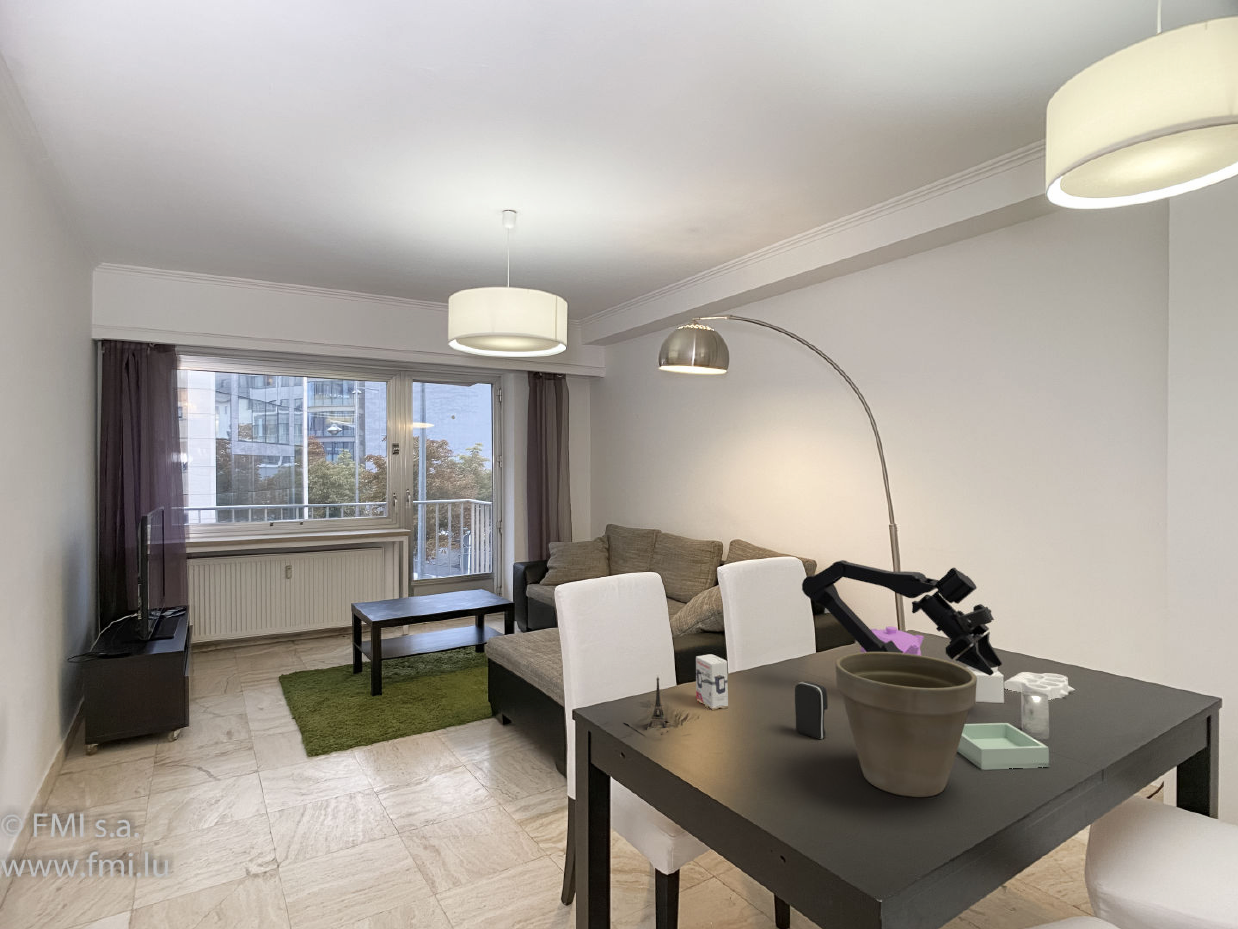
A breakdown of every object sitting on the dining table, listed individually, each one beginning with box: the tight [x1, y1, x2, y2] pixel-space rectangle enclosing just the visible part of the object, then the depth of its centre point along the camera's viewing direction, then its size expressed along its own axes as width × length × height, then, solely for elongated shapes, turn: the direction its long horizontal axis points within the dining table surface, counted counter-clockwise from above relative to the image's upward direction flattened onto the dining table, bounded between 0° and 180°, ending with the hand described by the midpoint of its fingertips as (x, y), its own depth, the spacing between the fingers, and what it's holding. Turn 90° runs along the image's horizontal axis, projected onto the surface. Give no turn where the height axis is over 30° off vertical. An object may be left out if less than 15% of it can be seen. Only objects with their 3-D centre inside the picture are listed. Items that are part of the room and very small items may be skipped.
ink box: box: [695, 654, 729, 708], centre depth 178 cm, size 8×5×12 cm, turn 23°
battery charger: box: [794, 681, 829, 740], centre depth 157 cm, size 7×4×11 cm, turn 38°
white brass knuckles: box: [1004, 671, 1076, 701], centre depth 186 cm, size 3×18×15 cm
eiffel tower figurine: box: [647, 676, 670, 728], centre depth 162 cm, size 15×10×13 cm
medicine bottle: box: [965, 659, 1005, 704], centre depth 180 cm, size 7×7×12 cm
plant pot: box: [835, 651, 977, 798], centre depth 133 cm, size 25×25×22 cm
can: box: [1020, 691, 1050, 740], centre depth 155 cm, size 5×5×9 cm
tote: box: [957, 722, 1050, 771], centre depth 144 cm, size 14×14×4 cm
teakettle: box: [860, 626, 925, 656], centre depth 209 cm, size 17×17×12 cm
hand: (996, 669), depth 160 cm, fingers open, 9 cm apart
